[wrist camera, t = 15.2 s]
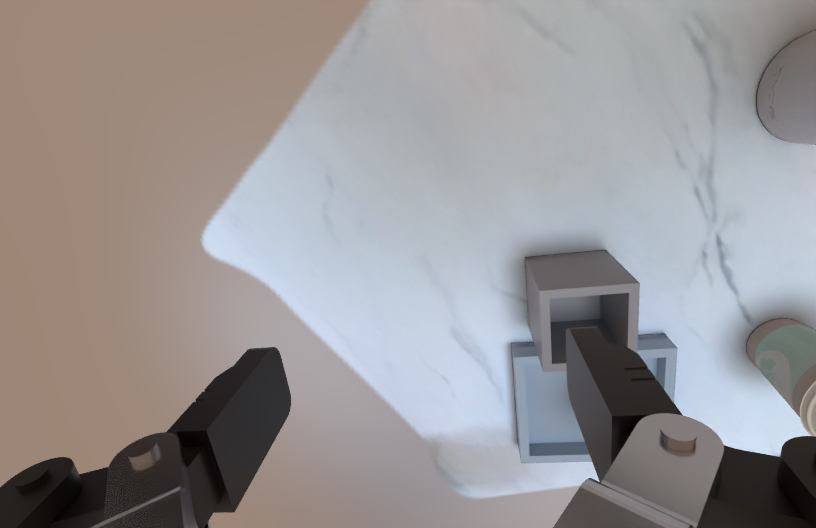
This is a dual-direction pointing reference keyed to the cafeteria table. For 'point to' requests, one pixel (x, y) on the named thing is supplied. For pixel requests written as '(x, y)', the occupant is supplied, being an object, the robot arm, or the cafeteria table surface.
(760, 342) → the coffee cup
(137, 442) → the robot arm
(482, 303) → the cafeteria table surface
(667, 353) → the tray
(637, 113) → the cafeteria table surface
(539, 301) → the grey square frame
